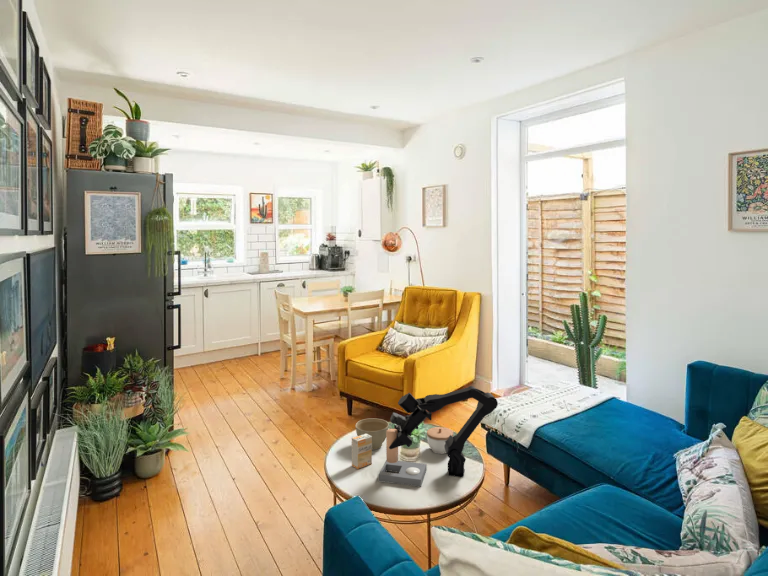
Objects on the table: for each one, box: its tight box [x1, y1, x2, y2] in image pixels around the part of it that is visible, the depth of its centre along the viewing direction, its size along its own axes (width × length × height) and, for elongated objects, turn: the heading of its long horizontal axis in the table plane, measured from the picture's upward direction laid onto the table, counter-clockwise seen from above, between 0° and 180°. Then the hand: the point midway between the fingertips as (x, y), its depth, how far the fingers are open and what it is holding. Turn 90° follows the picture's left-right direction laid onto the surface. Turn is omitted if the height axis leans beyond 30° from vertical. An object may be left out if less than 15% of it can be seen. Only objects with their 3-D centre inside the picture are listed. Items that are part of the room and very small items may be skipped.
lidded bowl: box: [426, 426, 454, 455], centre depth 226 cm, size 13×13×11 cm
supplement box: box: [351, 434, 373, 470], centre depth 212 cm, size 8×5×13 cm, turn 130°
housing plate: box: [378, 459, 428, 488], centre depth 203 cm, size 18×14×3 cm
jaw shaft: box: [385, 428, 399, 463], centre depth 201 cm, size 5×5×13 cm
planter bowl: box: [355, 417, 389, 450], centre depth 231 cm, size 16×16×11 cm
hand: (389, 445), depth 201 cm, fingers closed on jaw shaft, 5 cm apart
